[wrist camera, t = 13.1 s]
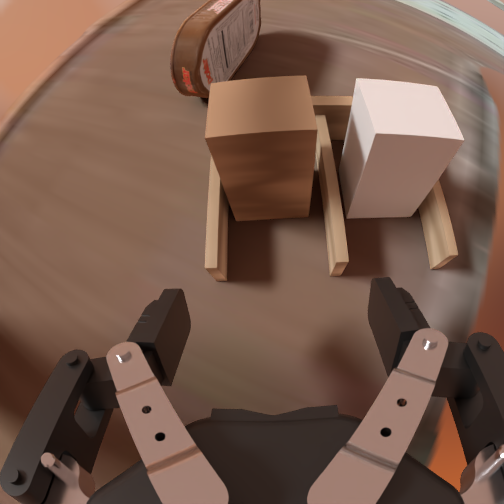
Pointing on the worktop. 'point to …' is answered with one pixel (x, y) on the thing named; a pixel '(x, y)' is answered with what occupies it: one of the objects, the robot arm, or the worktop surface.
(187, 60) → the tin
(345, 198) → the white block
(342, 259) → the rack
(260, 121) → the tan block
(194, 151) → the worktop surface
